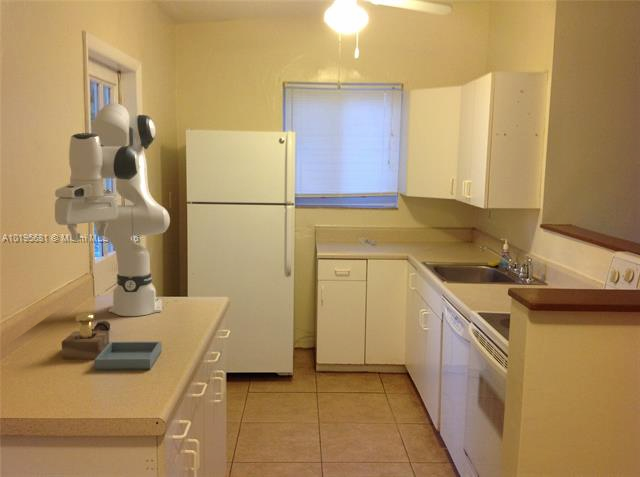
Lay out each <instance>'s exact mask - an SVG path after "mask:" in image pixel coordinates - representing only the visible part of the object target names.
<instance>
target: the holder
mask: <svg viewBox="0 0 640 477" xmlns="http://www.w3.org/2000/svg"><path fill="white" fill-rule="evenodd" d="M109 343H110V330H109V331H92V339H80V330H74V331H72V332H71V333H70V334H69V335H68V336H67V337H65V338H64V339H63V340H62V341H61V358H62V360H93V359H94V360H95V358H96V357H97V356H98V355H99V354H100V353H101V352H102V351H103V350H104V349H105V347H106V346H107V345H108V344H109Z"/></svg>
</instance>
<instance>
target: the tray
mask: <svg viewBox="0 0 640 477" xmlns="http://www.w3.org/2000/svg"><path fill="white" fill-rule="evenodd" d="M162 344H163V343H162V341H109V344H108V345H107V346H106V347H105V349H104V350H103V351H102V352H101V353H100V354H99V355H98V356H97V357H96V358H95V359H94V371H151V370H152V368H153V366H154V365H155V363H156V362H157V360H158V359H159V357H160V355H161V353H162V351H163V350H162Z"/></svg>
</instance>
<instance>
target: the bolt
mask: <svg viewBox="0 0 640 477" xmlns="http://www.w3.org/2000/svg"><path fill="white" fill-rule="evenodd" d="M110 330H111V324H110V322H108V321H105V320H103V321H97V322H96V324H95V326H94V327H93V328H92V331H109V332H110Z"/></svg>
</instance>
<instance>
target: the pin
mask: <svg viewBox="0 0 640 477" xmlns="http://www.w3.org/2000/svg"><path fill="white" fill-rule="evenodd" d="M94 320H95V314H94V313H91V312H87V313H85V312H84V313H83V312H82V313H78V314H76V316H75V321H76V322H78V324H79V328H78V329H79V331H80V339H92V329H93V328H92V321H94Z"/></svg>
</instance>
